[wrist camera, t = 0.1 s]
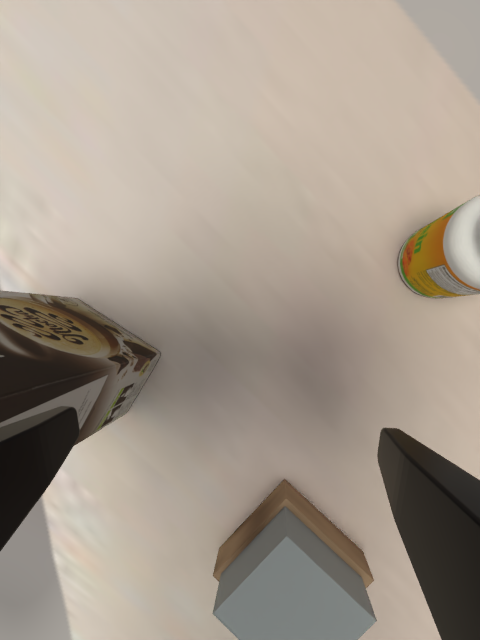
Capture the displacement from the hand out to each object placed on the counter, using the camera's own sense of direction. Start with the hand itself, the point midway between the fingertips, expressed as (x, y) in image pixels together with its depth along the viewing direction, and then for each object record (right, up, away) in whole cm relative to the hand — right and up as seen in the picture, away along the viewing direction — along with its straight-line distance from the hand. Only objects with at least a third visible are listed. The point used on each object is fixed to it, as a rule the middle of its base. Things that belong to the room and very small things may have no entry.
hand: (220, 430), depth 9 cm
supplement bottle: (+15, +7, +14) cm, 22 cm away
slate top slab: (+4, -15, +13) cm, 20 cm away
